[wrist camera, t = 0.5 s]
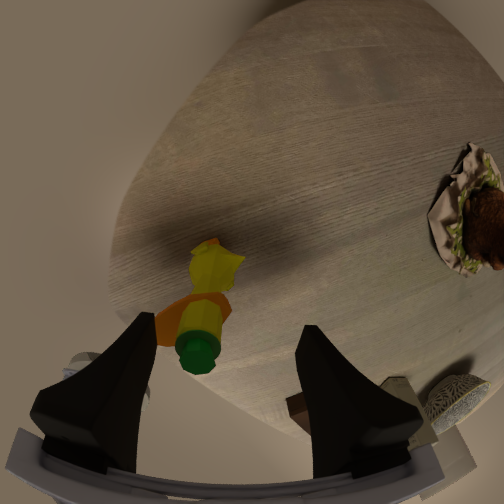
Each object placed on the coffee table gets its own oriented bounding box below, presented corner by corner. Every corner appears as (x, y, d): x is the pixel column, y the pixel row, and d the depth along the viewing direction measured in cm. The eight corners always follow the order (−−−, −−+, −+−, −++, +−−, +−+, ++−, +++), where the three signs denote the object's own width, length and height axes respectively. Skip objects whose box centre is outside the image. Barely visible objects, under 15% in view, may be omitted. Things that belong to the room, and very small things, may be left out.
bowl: (403, 395, 36) (420, 428, 30) (474, 342, 34) (496, 369, 27) (412, 419, 43) (424, 444, 36) (470, 377, 40) (485, 400, 33)
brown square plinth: (285, 398, 32) (289, 417, 29) (335, 377, 31) (342, 395, 28) (310, 423, 36) (314, 439, 33) (351, 406, 35) (357, 421, 32)
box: (388, 376, 33) (424, 446, 21) (406, 376, 34) (441, 440, 22) (367, 398, 35) (396, 466, 23) (386, 397, 36) (415, 460, 24)
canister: (392, 444, 48) (415, 504, 31) (445, 408, 45) (476, 467, 27) (407, 448, 54) (428, 497, 36) (452, 418, 50) (477, 466, 33)
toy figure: (188, 285, 23) (155, 403, 12) (163, 253, 22) (106, 363, 11) (256, 248, 22) (267, 368, 11) (233, 211, 20) (220, 314, 10)
